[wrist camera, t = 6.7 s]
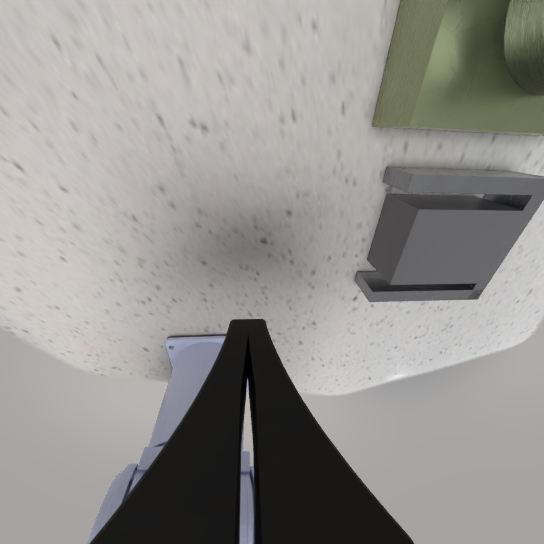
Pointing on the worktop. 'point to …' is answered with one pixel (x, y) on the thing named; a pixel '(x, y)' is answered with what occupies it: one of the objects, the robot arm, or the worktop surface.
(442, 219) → the grey block
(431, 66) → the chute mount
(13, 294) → the worktop surface
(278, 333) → the worktop surface
